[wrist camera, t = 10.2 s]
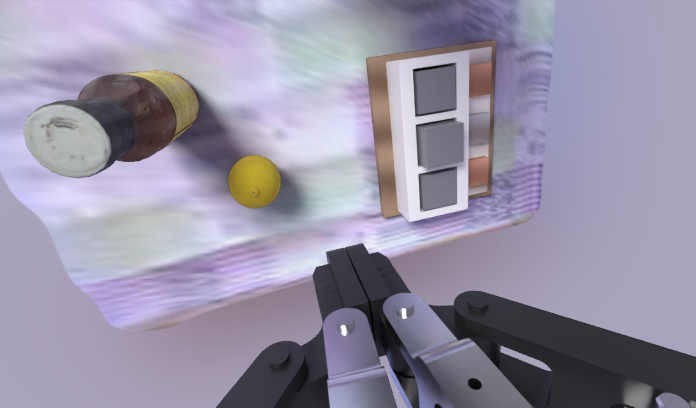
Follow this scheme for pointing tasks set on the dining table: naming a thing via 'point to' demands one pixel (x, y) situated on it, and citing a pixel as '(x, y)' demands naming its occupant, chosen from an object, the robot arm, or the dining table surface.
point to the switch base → (479, 118)
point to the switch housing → (407, 121)
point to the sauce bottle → (111, 122)
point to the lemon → (254, 181)
